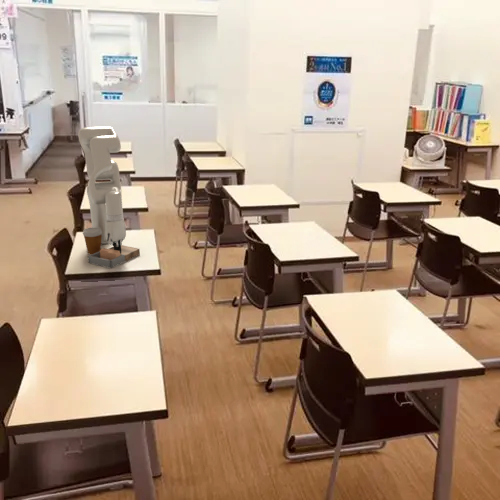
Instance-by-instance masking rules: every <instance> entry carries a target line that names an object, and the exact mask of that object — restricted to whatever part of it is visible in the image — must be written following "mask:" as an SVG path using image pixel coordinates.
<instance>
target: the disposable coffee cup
mask: <svg viewBox="0 0 500 500" xmlns="http://www.w3.org/2000/svg"><path fill="white" fill-rule="evenodd" d="M82 231H83V232H82V236H83V238H84V242H85V246H86V250H87V254H88V255H92V254H94V253H96V252H99V251H100V249H102V244H101V237H102V230H101V229H100V228H92V227H88V228H84V229H83V230H82Z"/></svg>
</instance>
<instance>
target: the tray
mask: <svg viewBox="0 0 500 500" xmlns="http://www.w3.org/2000/svg"><path fill="white" fill-rule="evenodd" d="M87 259H88V260H87V262H88V264H91V265H96V266H100V267H103V268H108V269H109V268H110V269H112V268H115V267H117V266H119V265H121V264H123V263H125V262H126V261H125V255H124V254H123V255H120V256H118V257H116V258H114V259H112V260H107V259H103V258H100V251H99V252H96V253H94V254H92V255H90V254H88V255H87Z"/></svg>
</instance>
